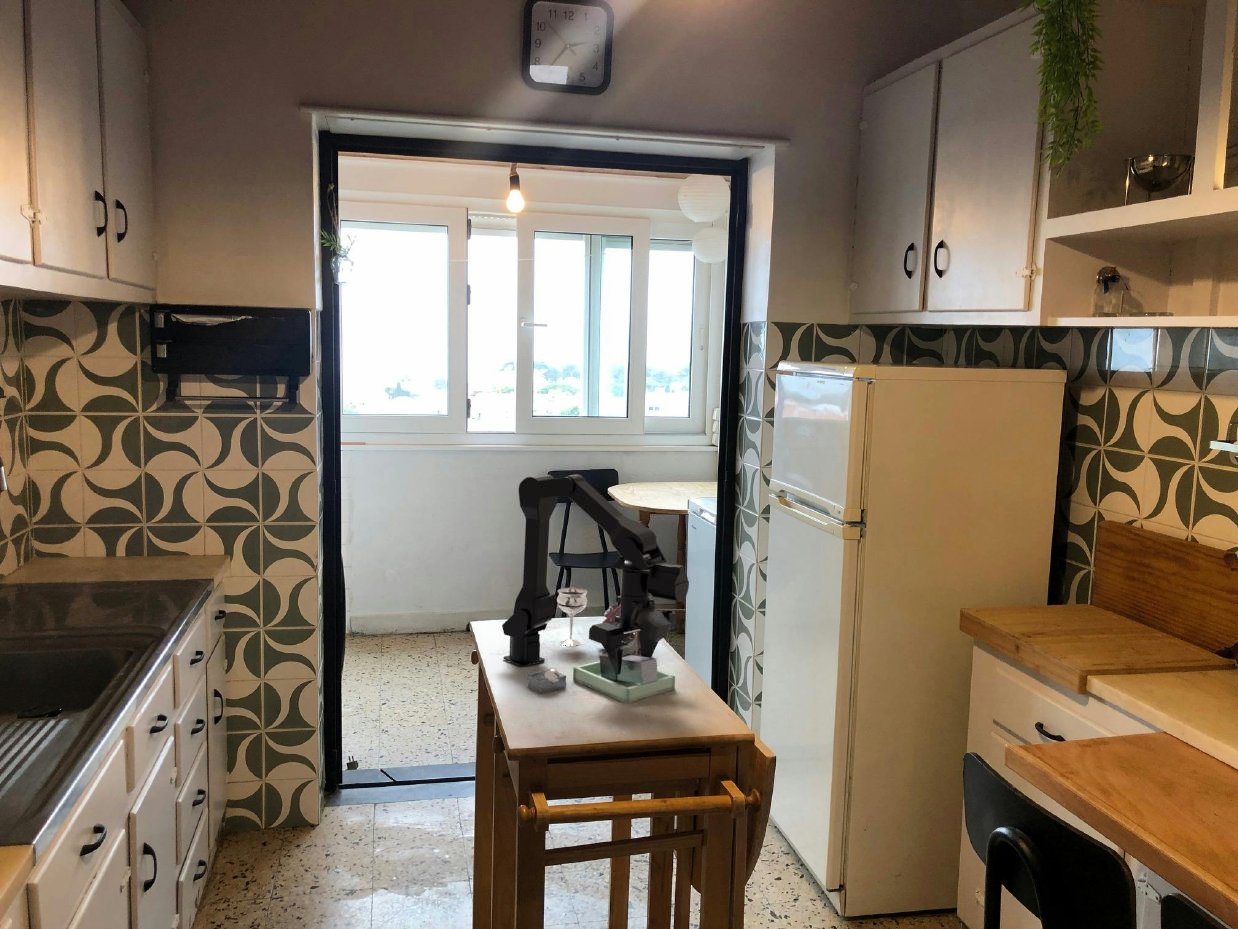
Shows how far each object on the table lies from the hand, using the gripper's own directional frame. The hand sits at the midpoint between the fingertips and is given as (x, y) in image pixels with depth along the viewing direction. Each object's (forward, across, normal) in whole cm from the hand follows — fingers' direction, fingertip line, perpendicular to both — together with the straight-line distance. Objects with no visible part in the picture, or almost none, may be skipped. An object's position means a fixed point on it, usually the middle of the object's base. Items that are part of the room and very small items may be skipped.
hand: (631, 670), depth 187 cm
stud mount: (+4, -14, +10) cm, 17 cm away
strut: (+2, 0, +1) cm, 2 cm away
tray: (+4, 0, +2) cm, 4 cm away
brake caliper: (+4, +14, +18) cm, 24 cm away
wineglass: (+4, +8, +29) cm, 31 cm away
